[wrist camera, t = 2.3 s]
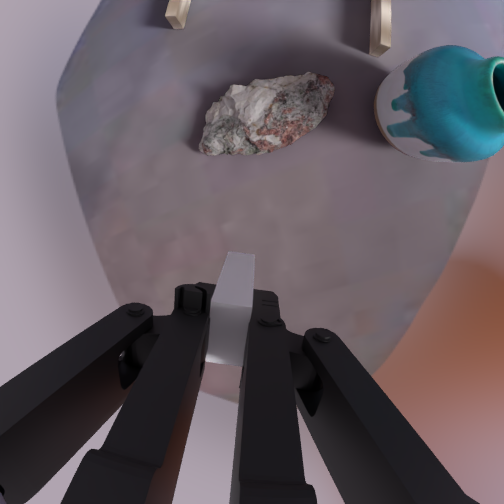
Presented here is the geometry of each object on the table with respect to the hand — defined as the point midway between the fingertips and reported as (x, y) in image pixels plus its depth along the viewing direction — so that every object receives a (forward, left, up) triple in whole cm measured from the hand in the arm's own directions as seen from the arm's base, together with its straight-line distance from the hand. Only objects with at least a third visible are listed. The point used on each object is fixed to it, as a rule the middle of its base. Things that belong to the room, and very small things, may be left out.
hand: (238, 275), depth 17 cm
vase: (-15, +16, -18) cm, 28 cm away
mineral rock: (-12, 0, -18) cm, 21 cm away
